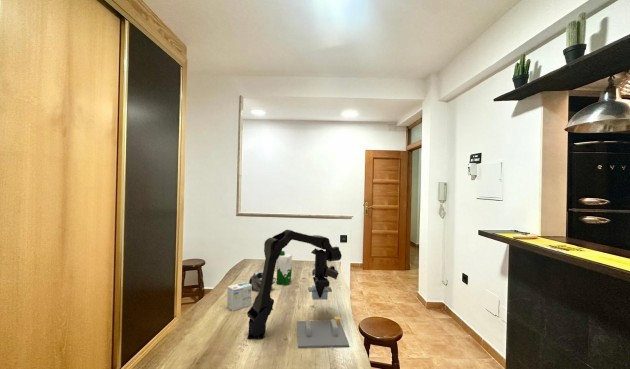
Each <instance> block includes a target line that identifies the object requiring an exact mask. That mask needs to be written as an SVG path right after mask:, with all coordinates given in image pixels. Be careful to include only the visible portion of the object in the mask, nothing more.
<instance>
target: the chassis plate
mask: <svg viewBox="0 0 630 369" xmlns="http://www.w3.org/2000/svg"><path fill="white" fill-rule="evenodd" d="M296 330H297V331H296V333H297V348H298V349H311V348H312V349H313V348H315V349H318V348H319V349H320V348H321V349H322V348H349V347H350V343H349V340H348V338H347V335H346V332H345V329H344V328H343V324H342V322H341V317H340V316H334V317H333V318H332V319H330V320H311V319H305V320H297V321H296Z"/></svg>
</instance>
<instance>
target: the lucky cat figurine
mask: <svg viewBox="0 0 630 369" xmlns="http://www.w3.org/2000/svg"><path fill="white" fill-rule="evenodd" d="M262 275H263V270H260V271H258V272H257V271H255V272H253V275H252V276H250V278H249V280H248V283H249V284H251V285H252V292H253V291H254V292H259V291H260V285H261V280H262ZM276 282H277V277H275V276H273V282H272V286H273V285H274V284H275V283H276Z"/></svg>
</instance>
